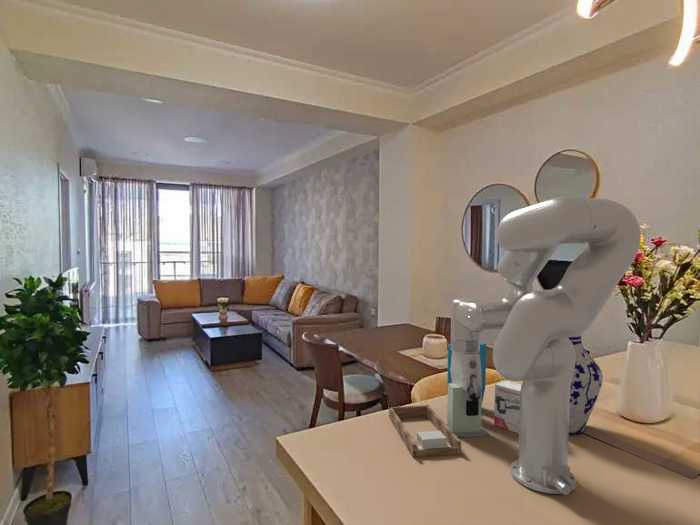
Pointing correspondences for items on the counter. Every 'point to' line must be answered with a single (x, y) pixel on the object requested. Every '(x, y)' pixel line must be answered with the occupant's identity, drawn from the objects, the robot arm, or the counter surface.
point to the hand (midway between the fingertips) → (464, 408)
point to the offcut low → (429, 447)
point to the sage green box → (461, 411)
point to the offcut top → (431, 439)
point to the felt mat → (472, 433)
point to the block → (483, 365)
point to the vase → (583, 387)
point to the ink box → (507, 405)
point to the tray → (435, 420)
